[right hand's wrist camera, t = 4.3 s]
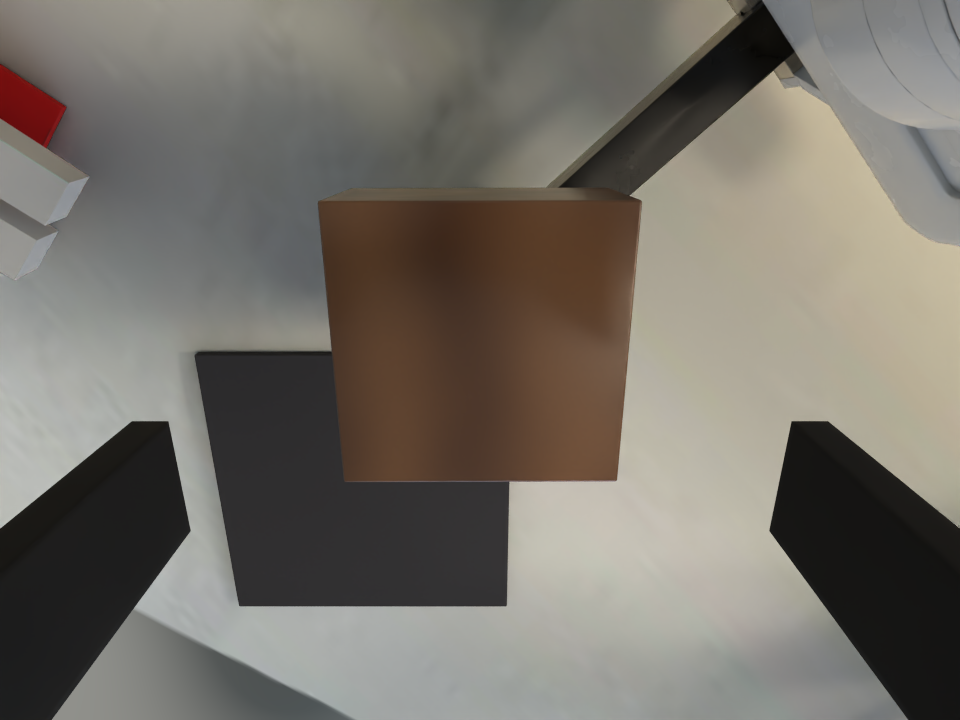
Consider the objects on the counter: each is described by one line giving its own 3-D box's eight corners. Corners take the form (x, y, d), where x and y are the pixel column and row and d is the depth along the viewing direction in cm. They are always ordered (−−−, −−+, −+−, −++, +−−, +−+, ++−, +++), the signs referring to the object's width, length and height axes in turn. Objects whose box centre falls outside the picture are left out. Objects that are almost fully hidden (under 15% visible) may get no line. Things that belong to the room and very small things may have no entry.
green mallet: (475, 346, 38) (473, 434, 27) (386, 253, 36) (343, 306, 25) (819, 52, 32) (1002, 5, 21) (736, -80, 30) (890, -211, 19)
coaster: (511, 351, 38) (511, 355, 37) (506, 600, 45) (506, 606, 44) (198, 351, 38) (194, 355, 37) (241, 600, 45) (239, 606, 44)
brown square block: (609, 187, 23) (643, 200, 18) (593, 421, 26) (617, 482, 22) (350, 188, 23) (316, 200, 18) (367, 421, 26) (343, 482, 22)
